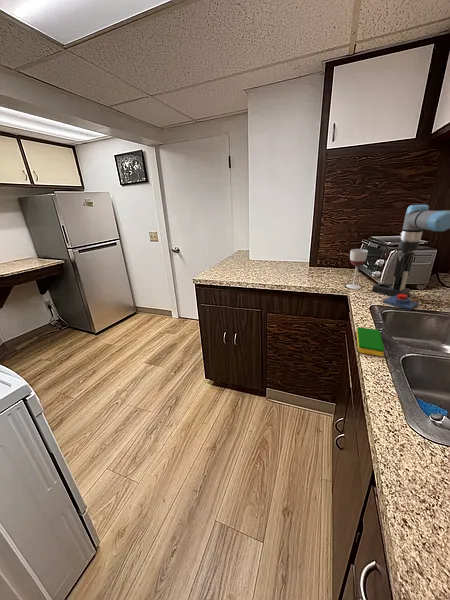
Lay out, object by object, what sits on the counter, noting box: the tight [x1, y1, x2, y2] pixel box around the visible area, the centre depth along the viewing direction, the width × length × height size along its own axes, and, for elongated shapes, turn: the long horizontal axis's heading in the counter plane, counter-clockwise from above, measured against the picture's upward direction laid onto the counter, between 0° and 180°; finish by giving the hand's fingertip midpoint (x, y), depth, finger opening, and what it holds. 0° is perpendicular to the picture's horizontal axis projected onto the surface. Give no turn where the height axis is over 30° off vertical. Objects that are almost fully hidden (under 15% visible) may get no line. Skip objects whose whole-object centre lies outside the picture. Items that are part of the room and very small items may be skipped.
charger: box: [392, 271, 410, 291], centre depth 121 cm, size 4×4×9 cm
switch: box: [397, 294, 408, 300], centre depth 112 cm, size 4×4×2 cm
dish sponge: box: [356, 326, 385, 357], centre depth 85 cm, size 7×14×2 cm, turn 156°
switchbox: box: [382, 295, 419, 311], centre depth 113 cm, size 11×8×3 cm
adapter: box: [371, 282, 411, 297], centre depth 125 cm, size 14×8×3 cm, turn 35°
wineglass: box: [345, 248, 369, 290], centre depth 133 cm, size 8×9×20 cm
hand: (398, 288), depth 122 cm, fingers closed on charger, 4 cm apart
